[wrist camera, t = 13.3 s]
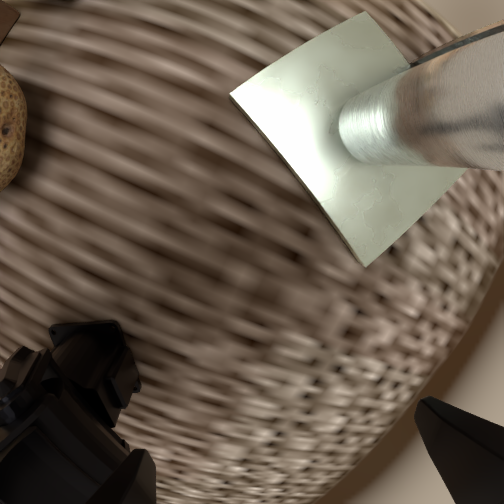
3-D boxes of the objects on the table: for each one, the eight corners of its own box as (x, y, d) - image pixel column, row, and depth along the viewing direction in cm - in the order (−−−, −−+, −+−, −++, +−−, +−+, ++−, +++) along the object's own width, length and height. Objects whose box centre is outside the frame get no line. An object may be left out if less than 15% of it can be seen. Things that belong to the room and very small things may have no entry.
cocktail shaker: (365, 179, 18) (571, 214, 4) (324, 114, 17) (512, 33, 3) (414, 143, 18) (601, 143, 4) (377, 82, 16) (553, 13, 3)
